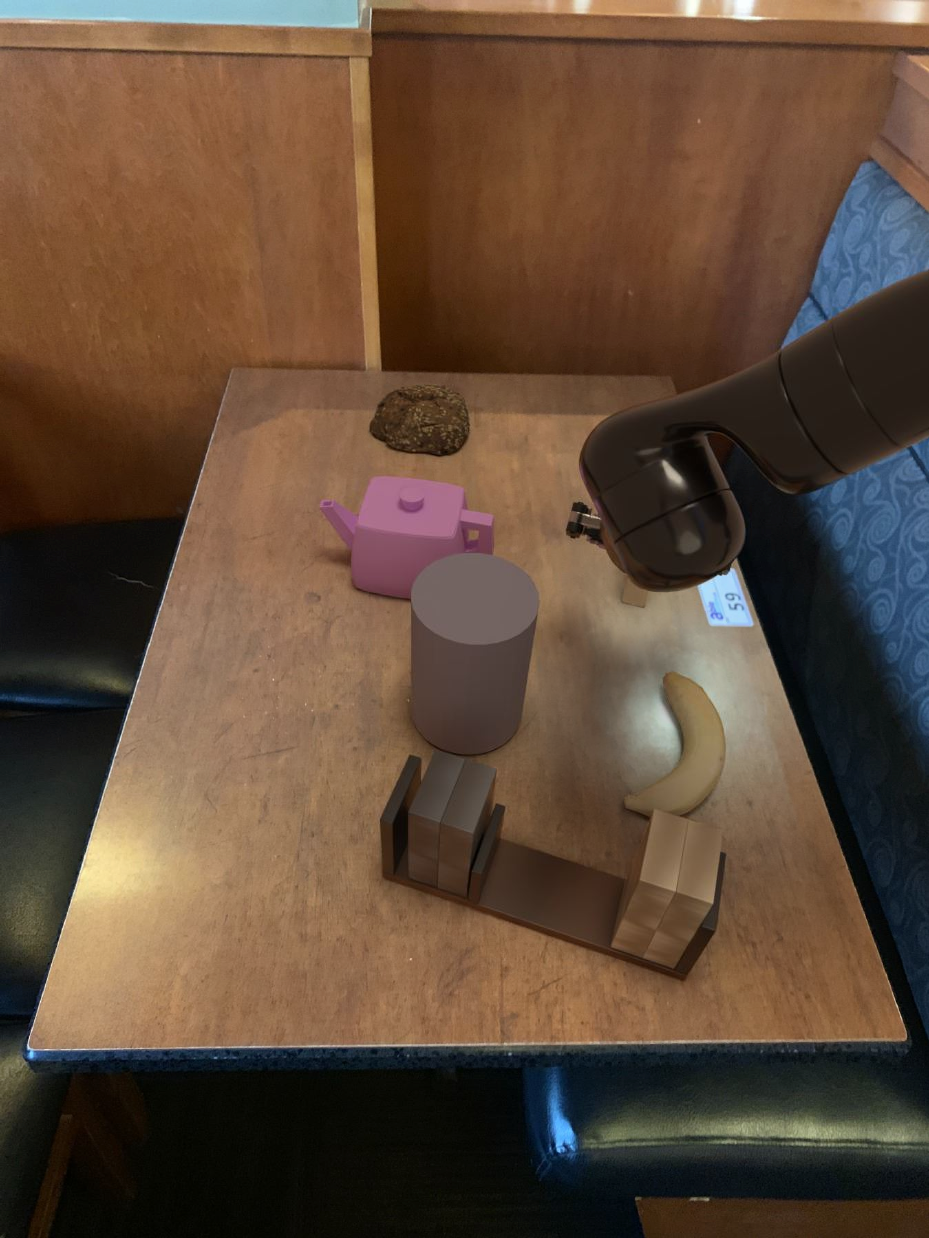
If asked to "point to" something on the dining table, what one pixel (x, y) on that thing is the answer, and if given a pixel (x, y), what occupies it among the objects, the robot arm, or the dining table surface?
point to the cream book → (634, 594)
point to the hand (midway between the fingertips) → (647, 546)
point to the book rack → (553, 870)
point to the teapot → (406, 531)
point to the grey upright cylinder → (471, 650)
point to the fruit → (687, 753)
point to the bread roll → (422, 419)
